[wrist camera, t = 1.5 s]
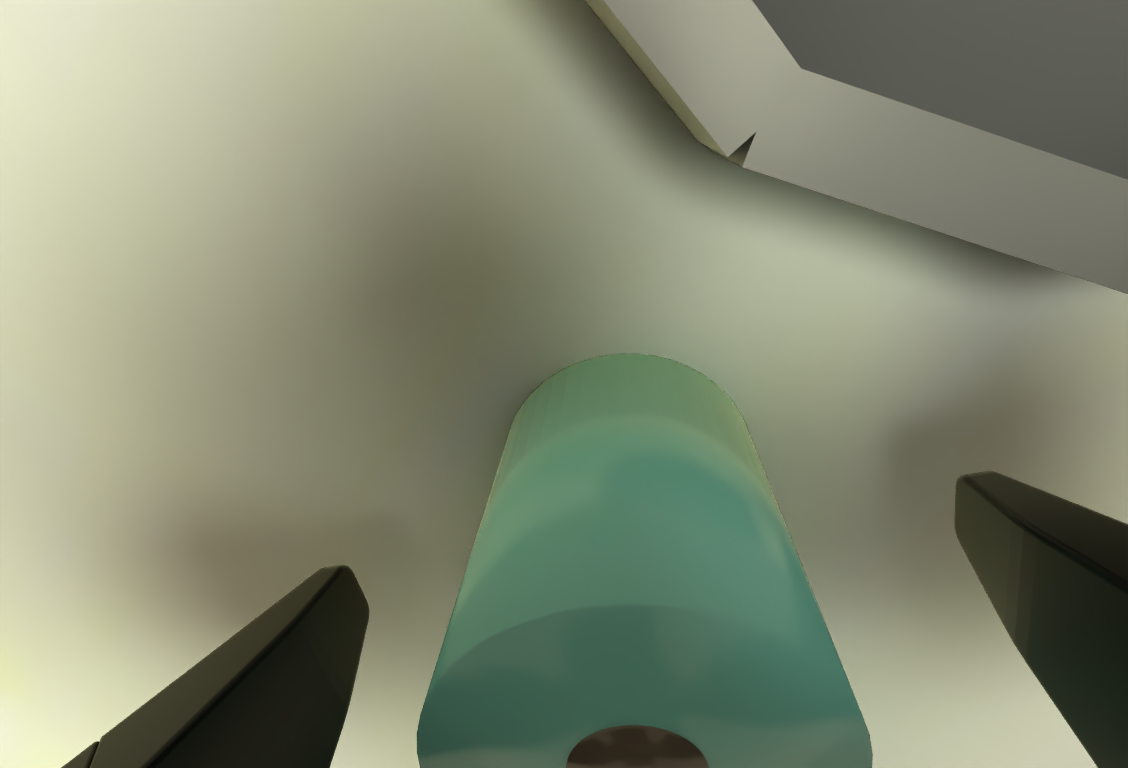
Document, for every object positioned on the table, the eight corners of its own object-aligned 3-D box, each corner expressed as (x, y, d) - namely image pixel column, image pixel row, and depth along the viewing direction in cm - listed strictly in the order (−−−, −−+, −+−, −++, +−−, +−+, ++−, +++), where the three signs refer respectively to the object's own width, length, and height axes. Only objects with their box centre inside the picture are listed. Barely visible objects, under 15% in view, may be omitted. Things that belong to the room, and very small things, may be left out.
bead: (736, 329, 10) (867, 577, 5) (764, 546, 12) (880, 893, 6) (475, 379, 10) (347, 640, 5) (538, 576, 12) (486, 909, 7)
